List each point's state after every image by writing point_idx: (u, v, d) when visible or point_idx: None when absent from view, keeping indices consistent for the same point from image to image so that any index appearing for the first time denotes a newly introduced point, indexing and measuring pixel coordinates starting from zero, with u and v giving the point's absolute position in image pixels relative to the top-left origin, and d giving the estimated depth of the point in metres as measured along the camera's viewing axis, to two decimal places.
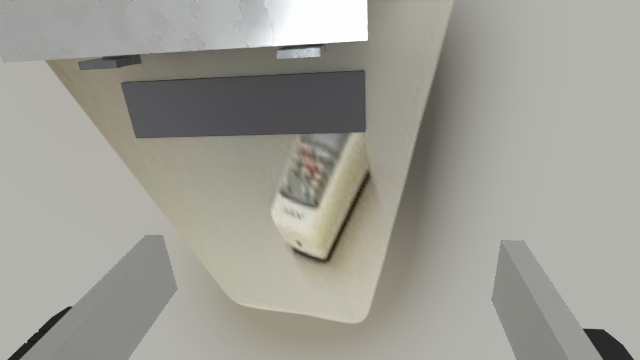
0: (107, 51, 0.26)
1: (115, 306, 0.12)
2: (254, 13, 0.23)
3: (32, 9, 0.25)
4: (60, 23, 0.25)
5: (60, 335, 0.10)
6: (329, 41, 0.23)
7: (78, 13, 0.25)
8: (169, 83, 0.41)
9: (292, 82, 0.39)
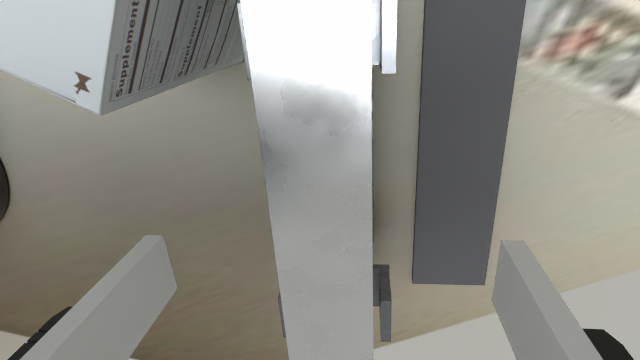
0: (366, 316, 0.18)
1: (114, 306, 0.12)
2: (318, 99, 0.14)
3: None
4: (330, 356, 0.20)
5: (60, 335, 0.10)
6: None
7: (318, 334, 0.19)
8: (419, 230, 0.32)
9: (433, 66, 0.27)
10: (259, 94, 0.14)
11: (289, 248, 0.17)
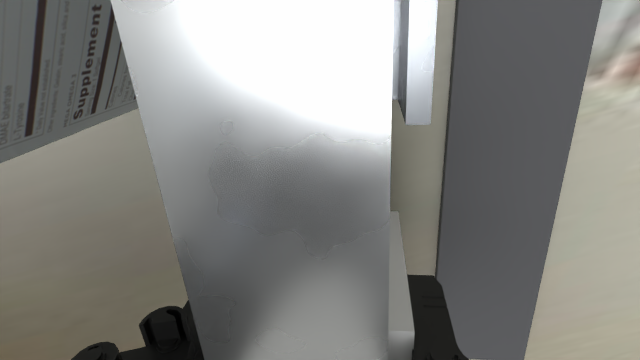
0: None
1: None
2: (283, 190, 0.07)
3: None
4: None
5: None
6: None
7: None
8: None
9: (467, 89, 0.20)
10: (168, 178, 0.07)
11: None
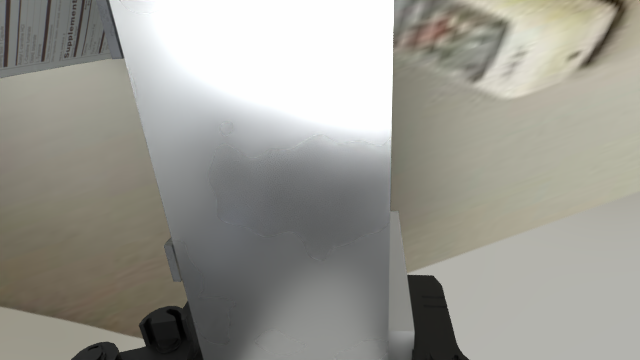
0: None
1: None
2: (283, 192, 0.07)
3: None
4: None
5: None
6: None
7: None
8: None
9: None
10: (167, 180, 0.07)
11: None
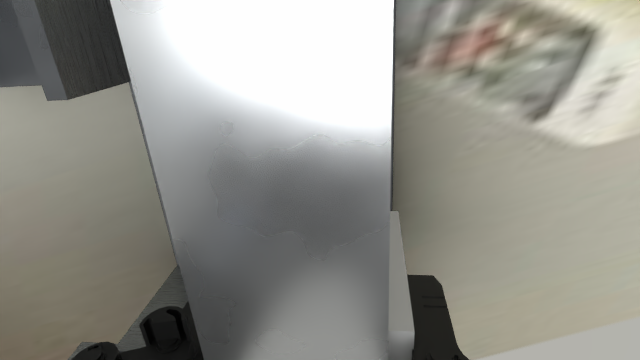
0: None
1: None
2: (284, 192, 0.07)
3: None
4: None
5: None
6: None
7: None
8: None
9: None
10: (168, 180, 0.07)
11: None
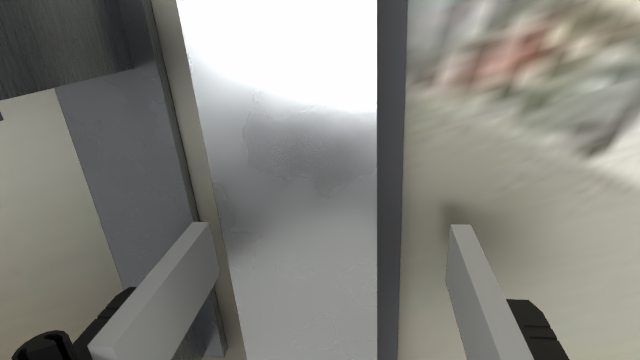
0: None
1: (174, 286, 0.13)
2: (298, 145, 0.10)
3: None
4: None
5: (133, 310, 0.11)
6: None
7: None
8: None
9: None
10: (212, 137, 0.10)
11: (264, 339, 0.13)
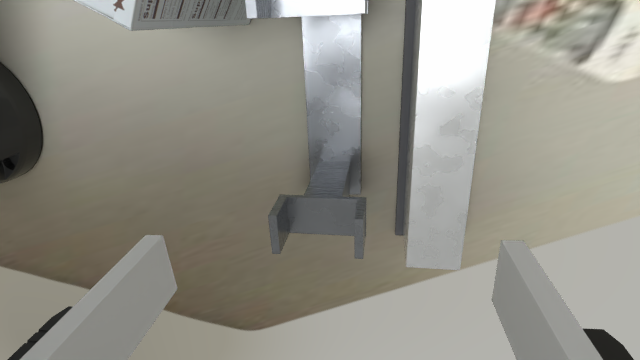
0: (467, 181, 0.29)
1: (115, 306, 0.12)
2: (459, 32, 0.25)
3: (424, 230, 0.31)
4: (438, 213, 0.30)
5: (60, 335, 0.10)
6: None
7: (432, 195, 0.30)
8: (401, 184, 0.36)
9: None
10: (424, 29, 0.25)
11: (424, 131, 0.28)
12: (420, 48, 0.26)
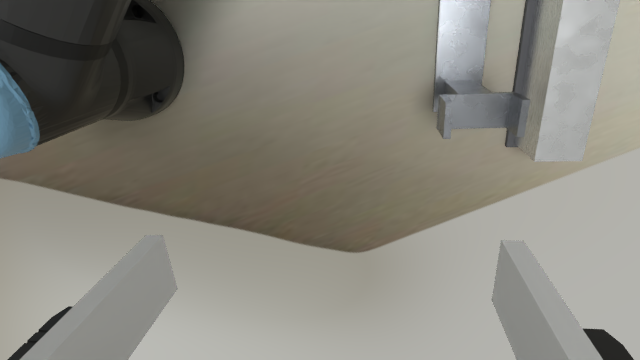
0: (598, 76, 0.34)
1: (114, 306, 0.12)
2: None
3: (554, 125, 0.36)
4: (569, 108, 0.36)
5: (60, 335, 0.10)
6: None
7: (566, 92, 0.35)
8: None
9: None
10: None
11: (566, 33, 0.33)
12: None
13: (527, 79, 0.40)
